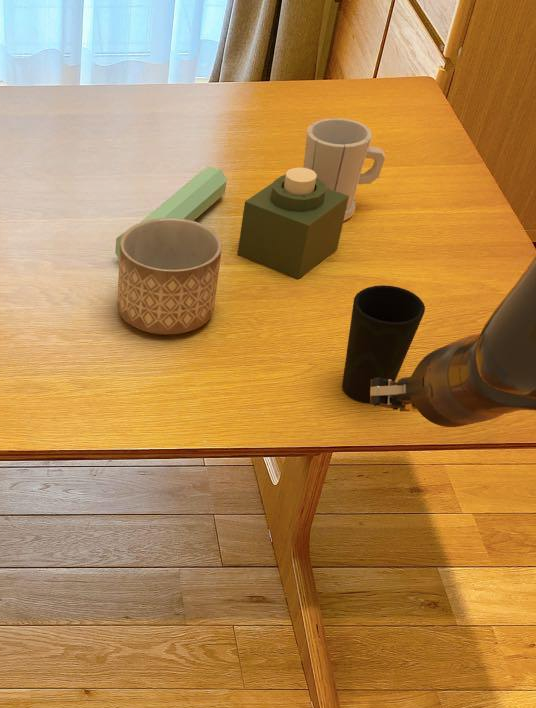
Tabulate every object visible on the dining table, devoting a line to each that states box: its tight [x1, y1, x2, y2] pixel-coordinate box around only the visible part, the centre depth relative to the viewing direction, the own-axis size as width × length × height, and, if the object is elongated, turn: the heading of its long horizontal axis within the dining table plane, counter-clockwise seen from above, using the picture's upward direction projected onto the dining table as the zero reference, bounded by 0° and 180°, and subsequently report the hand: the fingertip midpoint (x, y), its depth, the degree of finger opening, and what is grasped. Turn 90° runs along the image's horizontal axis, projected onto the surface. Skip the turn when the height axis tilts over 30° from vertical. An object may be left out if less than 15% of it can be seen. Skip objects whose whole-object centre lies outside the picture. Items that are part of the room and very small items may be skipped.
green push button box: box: [237, 173, 349, 280], centre depth 140 cm, size 10×10×10 cm
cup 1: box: [302, 117, 386, 222], centre depth 147 cm, size 10×9×12 cm
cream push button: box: [284, 167, 317, 195], centre depth 136 cm, size 4×4×2 cm
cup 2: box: [341, 284, 426, 404], centre depth 118 cm, size 8×8×12 cm
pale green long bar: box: [114, 166, 228, 259], centre depth 148 cm, size 6×6×25 cm
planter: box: [116, 218, 223, 335], centre depth 131 cm, size 13×13×10 cm
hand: (406, 401), depth 107 cm, fingers closed
